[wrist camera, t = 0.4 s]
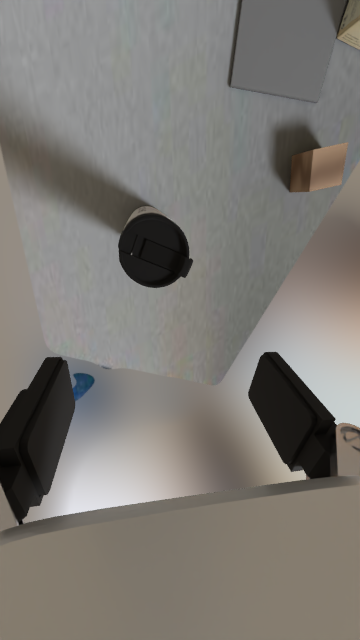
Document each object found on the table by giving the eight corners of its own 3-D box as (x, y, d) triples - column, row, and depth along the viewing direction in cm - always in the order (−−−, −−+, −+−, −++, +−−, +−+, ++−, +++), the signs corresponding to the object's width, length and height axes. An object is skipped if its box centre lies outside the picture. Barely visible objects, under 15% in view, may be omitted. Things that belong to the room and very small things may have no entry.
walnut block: (291, 155, 34) (313, 149, 30) (322, 149, 34) (348, 142, 30) (289, 192, 37) (309, 191, 32) (317, 186, 37) (341, 184, 32)
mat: (260, -140, 21) (262, -145, 21) (371, -97, 24) (374, -101, 23) (229, 87, 29) (231, 85, 29) (315, 103, 31) (317, 102, 31)
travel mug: (160, 253, 38) (177, 300, 21) (123, 238, 36) (107, 276, 19) (174, 217, 36) (206, 235, 18) (135, 198, 33) (129, 200, 16)
